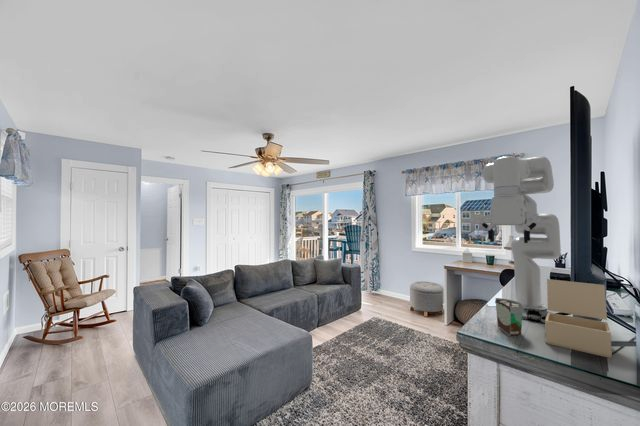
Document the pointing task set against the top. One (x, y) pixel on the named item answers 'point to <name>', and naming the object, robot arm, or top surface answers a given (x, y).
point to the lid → (577, 298)
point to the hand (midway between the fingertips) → (508, 242)
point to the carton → (578, 334)
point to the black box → (533, 319)
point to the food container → (509, 316)
